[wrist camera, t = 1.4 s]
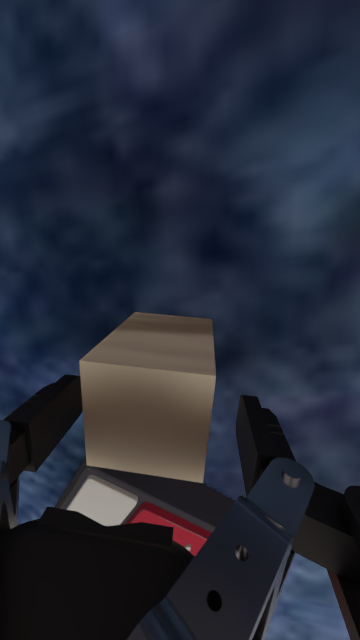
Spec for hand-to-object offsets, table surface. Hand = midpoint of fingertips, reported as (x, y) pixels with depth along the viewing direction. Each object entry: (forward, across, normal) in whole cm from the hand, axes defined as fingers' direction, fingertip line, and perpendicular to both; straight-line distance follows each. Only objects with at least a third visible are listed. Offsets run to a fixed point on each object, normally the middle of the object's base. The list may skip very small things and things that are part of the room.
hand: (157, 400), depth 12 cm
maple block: (+4, 0, -1) cm, 5 cm away
